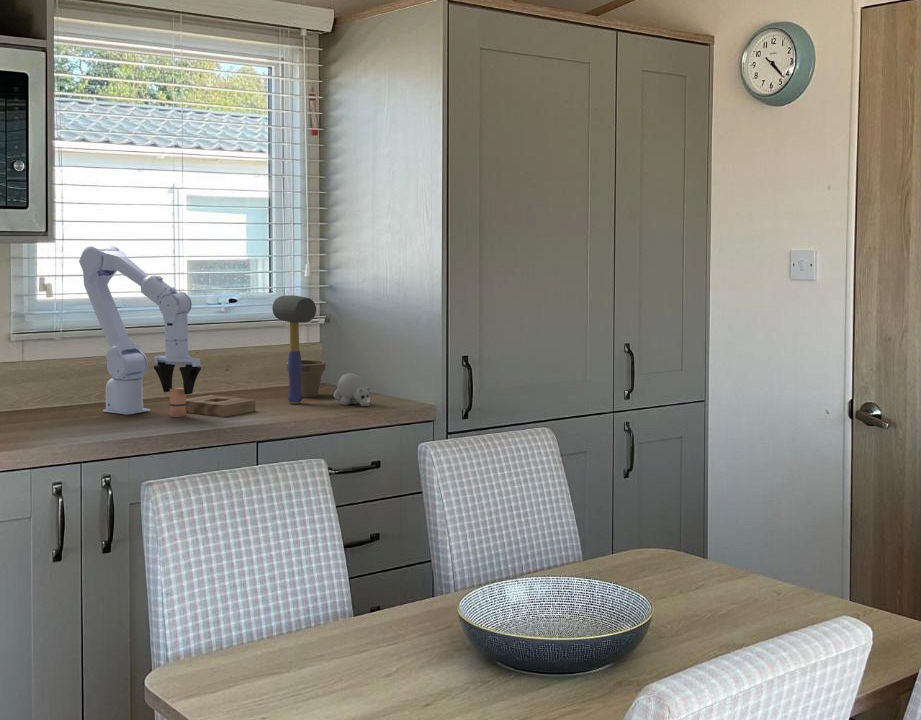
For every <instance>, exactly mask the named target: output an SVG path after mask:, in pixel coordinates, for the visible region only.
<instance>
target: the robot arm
mask: <svg viewBox="0 0 921 720" xmlns="http://www.w3.org/2000/svg"><path fill="white" fill-rule="evenodd" d="M80 255H81V256H80V258H79V260H78V262H79V266H80V267H81V271H82V274H83V285H84V289H85V292H86V293H87V296H88V298H89V301H90V303H91V306H92V308H93V311H94V313H95V315H96V318H97V320H98V323H99V325H100V328H101V331H102V332H103V334H104V338H105V340H106V342H107V344H108V349H107V350H106V352H105V354H104V355H105V356H104V357H105V359H106V364H107V365H106V366H107V371H108V373H109V375H110V376H111V378H110V379H109V380H108V381H107V382H106V385H105V409H103V411H102V412H104V413H112V414H121V415H134V414H140V413H145V412H146V413H147V412H150V411H151V409H150V408H144V393H143V392H144V390H143V388H144V387H143V383H144V382H143V378H144V376H145V375H144V374H145V373H146V372H147V370H148V368H149V361H148V358H147V356H146V354H144V353H143V352H142V351H141V348H140V346H139V345H138V344H137V343H135V342H134V341H132V340H131V339H130V337H129V334H128V333H127V329H126V327H125V325H124V322H123V320H122V317H121V315H120V312H119V310H118V307H117V306H116V302H115V301H114V298H113V295H112V293H111V290H110V288H109V286H108V284H109V282H110V281H111V279H112V278H113V277H114V276H115V274H116V273H117V272H118V273H120V274H122V275H123V276H125V277H126V278H128V279H129V280H131V281H132V282H134V284H137V285H138V286H139V287H140V292H141V294H143V296H145V297H146V298H148V299H149V301H152V302H153V303H154V304H155V305H156V306H158V308H159V312H160V313H161V314H162V317H163V318H162V319H163V321H164V322H163V323H164V349H165V351H164V352H165V354H164V355H155V356H154V364H157V365H153V369H154V371H155V372H156V374H157V376H158V378H159V380H160V384H161V388H162V391H163V393H170V389H171V388H173V376H174V370H175V366H179V372H180V373H181V377H182V384H183V385H182V386H183V388H184V393H185V394H186V395H191V394H193V393H194V392H193V391H194V387H195V384H196V381H197V377H198V375H199V373H200V372H201V369H202V366H201V358H199V357H198V358H196V357H192V356H190V355H189V333H188V332H189V326H188V325H189V324H188V313H190V311H191V310H192V307H193V305H192V299H191V298H190V295H188V294H187V293H186V292H182V291H179V292H178V291H177V289H176V288H175V287H172V286H170V285H169V284H167V282H165V281H163V280H164V278H163V277H162V276H161V275H148V274H147V273H146V272H145V271H144V270H143V269H142V268H140V267H139V266H138V265H137V264H136V263H135V262H134V261H132V260H131V258H129V257H128V256H127V253H126V252H124V251H122V250H120V249H119V248H118V247H117V246H115V245H114V246H113V245H112V246H111V245H110V246H88V247H85V248H84V250H83V251H82V254H80Z"/></svg>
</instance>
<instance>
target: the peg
mask: <svg viewBox="0 0 921 720" xmlns="http://www.w3.org/2000/svg"><path fill="white" fill-rule="evenodd" d="M186 396H187V394H185V393H184V387H172V388H171V389H170V392H169V416H170V417H171V418H183V417H186V416H187V412H186V399H187V397H186Z"/></svg>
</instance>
